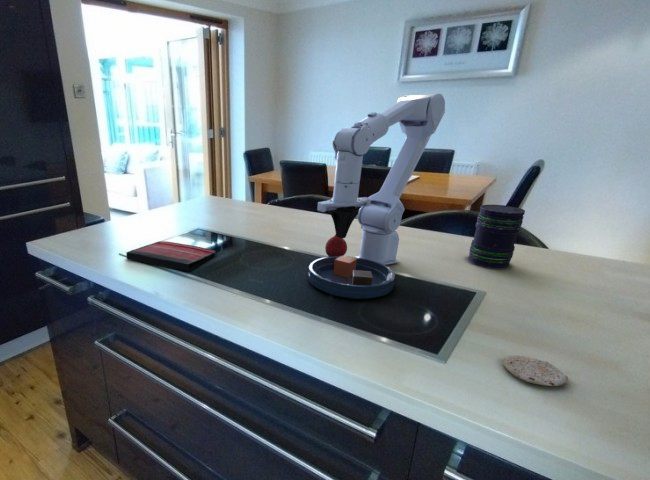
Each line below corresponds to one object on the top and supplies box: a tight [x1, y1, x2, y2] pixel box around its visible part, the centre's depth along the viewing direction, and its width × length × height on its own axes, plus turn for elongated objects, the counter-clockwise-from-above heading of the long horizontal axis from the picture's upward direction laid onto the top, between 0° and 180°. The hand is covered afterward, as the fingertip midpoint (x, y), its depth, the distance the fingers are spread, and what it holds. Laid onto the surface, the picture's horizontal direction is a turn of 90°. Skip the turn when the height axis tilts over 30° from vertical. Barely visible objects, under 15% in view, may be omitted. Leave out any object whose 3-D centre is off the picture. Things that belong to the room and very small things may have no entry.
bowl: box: [307, 255, 396, 300], centre depth 93 cm, size 19×19×4 cm
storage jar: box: [467, 204, 526, 270], centre depth 104 cm, size 10×10×15 cm
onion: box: [324, 233, 348, 257], centre depth 107 cm, size 6×6×8 cm
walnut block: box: [351, 270, 373, 285], centre depth 88 cm, size 4×4×4 cm
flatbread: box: [502, 355, 569, 387], centre depth 61 cm, size 8×8×1 cm
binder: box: [125, 240, 217, 273], centre depth 111 cm, size 16×2×21 cm
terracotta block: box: [333, 255, 357, 278], centre depth 97 cm, size 4×4×4 cm
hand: (340, 237), depth 97 cm, fingers closed
